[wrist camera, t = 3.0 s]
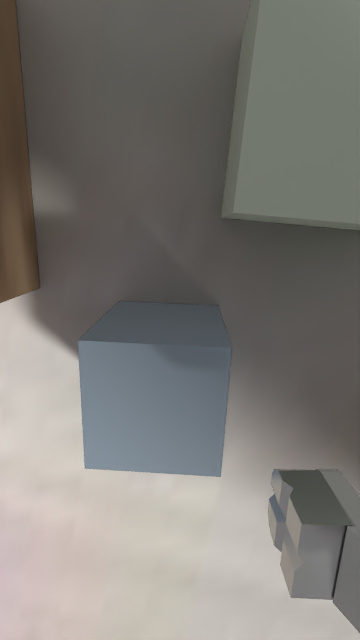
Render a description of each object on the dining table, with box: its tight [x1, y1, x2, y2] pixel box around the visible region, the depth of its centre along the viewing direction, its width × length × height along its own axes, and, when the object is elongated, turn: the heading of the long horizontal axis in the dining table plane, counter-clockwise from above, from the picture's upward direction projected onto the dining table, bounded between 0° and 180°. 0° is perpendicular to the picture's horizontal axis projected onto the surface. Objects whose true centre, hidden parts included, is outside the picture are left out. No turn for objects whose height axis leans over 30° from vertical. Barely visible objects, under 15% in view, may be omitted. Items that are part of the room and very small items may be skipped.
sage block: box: [221, 0, 360, 230], centre depth 12 cm, size 7×7×5 cm
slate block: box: [78, 301, 232, 477], centre depth 14 cm, size 5×5×6 cm
